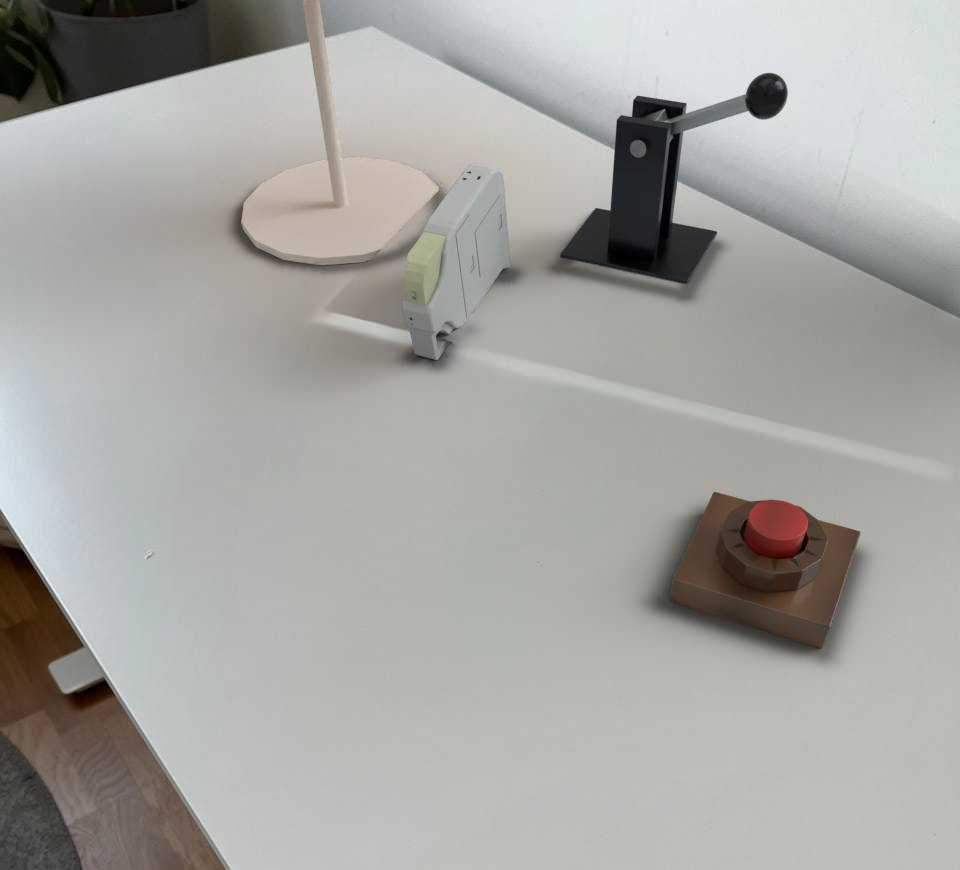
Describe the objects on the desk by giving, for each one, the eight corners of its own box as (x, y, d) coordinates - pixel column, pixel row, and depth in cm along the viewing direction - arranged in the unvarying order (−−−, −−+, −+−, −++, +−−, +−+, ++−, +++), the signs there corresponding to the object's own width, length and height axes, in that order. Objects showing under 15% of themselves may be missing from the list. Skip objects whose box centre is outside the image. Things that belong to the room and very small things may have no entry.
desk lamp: (295, 333, 85) (204, -105, 61) (141, 207, 100) (18, -185, 76) (552, 215, 96) (561, -196, 72) (378, 118, 111) (337, -250, 87)
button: (807, 528, 63) (814, 508, 62) (794, 566, 61) (800, 546, 60) (752, 513, 64) (757, 493, 63) (737, 550, 62) (742, 530, 61)
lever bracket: (715, 244, 92) (738, 99, 82) (685, 294, 87) (706, 146, 77) (594, 220, 95) (603, 79, 85) (559, 266, 90) (564, 122, 80)
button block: (852, 554, 67) (868, 511, 63) (822, 649, 62) (837, 608, 58) (709, 513, 69) (717, 470, 66) (668, 602, 64) (676, 559, 61)
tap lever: (796, 102, 77) (786, 60, 76) (786, 119, 76) (776, 76, 74) (647, 148, 85) (635, 111, 83) (634, 165, 83) (622, 127, 82)
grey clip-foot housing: (412, 375, 84) (484, 266, 91) (442, 383, 83) (512, 272, 90) (390, 266, 75) (472, 152, 81) (423, 273, 74) (503, 158, 80)
